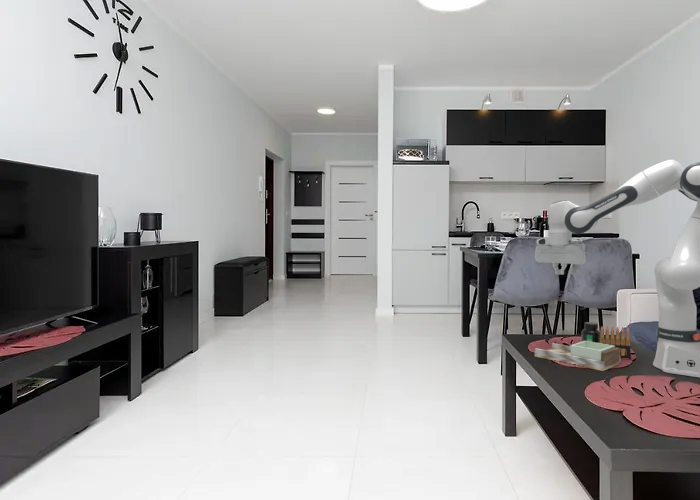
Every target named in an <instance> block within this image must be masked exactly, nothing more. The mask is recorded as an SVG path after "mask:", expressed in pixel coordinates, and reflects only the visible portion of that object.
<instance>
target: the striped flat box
mask: <svg viewBox="0 0 700 500" xmlns="http://www.w3.org/2000/svg"><path fill="white" fill-rule="evenodd" d="M534 357H536V358H540V359H545V360H549V361H554V360H556V361H555V362H559V361H562V362H561V363H564V362H566V363H565V364H568V363H571V364H570V365H573V364H576V365H575V366H578V365H580V366H579V367H582V366H584V367H583V368H587V367H588V368H587V369H592V370H597V371H601V372H605V371H607V370H608V369H611V368H613V367H616V366H618V365H621V364H620V363H621V362H622V361H621V360H622V359H621V356H620V355H619V348H617V347H616V348H614V349H611V350H608V351H606V352H603V353H602V361H597V360H592V359H587V358H582V357H577V356H572V355H571V345H565V344H562V343H561V344H559V343H555V342H552V343H551V348H549V349H541V348H534Z"/></svg>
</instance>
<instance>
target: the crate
mask: <svg viewBox="0 0 700 500" xmlns="http://www.w3.org/2000/svg"><path fill="white" fill-rule="evenodd" d="M570 346H571V355H572V356H577V357H582V358H587V359H592V360H597V361H602V353H603V352H606V351H608V350H611V349H614V348H615V346H613V345H608V344H602V343H596V342H590V341H582V340H581V341H579V342H576V343H574V344H573V343H572V344H570Z"/></svg>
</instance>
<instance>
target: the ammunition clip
mask: <svg viewBox="0 0 700 500" xmlns="http://www.w3.org/2000/svg"><path fill="white" fill-rule="evenodd" d="M610 328H611V329H609V326H606V328H605V329H604V327H603V325H602V326H600V330H599V331H600V343H602V344H608V345H613V346H615V348H616V347H617V348H619V355H620V356H621V358H629V359H628V360H631V359H632V356H631V354H632V353H631V351H632V350H631V331H630V328H629V327H627V328H626V331H625V328H624V327H621V331H620V329H619V327H618V326H617V327H616V329H614V326H611V327H610ZM604 330H605V331H604ZM620 332H621V333H620Z"/></svg>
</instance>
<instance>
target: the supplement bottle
mask: <svg viewBox="0 0 700 500" xmlns="http://www.w3.org/2000/svg"><path fill="white" fill-rule="evenodd" d="M583 327H584V328H583V329H582V330H581V342H582V341H590V342H596V343H600V331H601V330H599V324H598V322H593V321H592V322H591V321H585V322H584V326H583Z"/></svg>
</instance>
